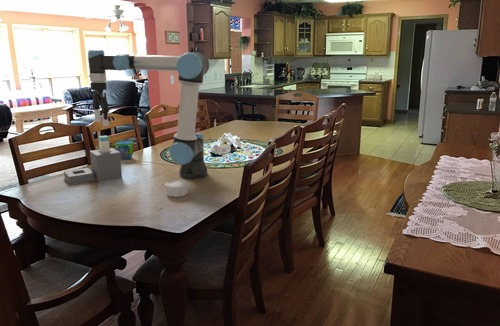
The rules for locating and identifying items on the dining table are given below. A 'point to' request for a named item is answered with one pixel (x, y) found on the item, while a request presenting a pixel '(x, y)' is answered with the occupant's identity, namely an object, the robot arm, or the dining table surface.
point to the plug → (104, 144)
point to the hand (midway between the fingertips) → (101, 123)
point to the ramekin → (176, 188)
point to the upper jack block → (106, 165)
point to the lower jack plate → (79, 175)
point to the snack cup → (125, 149)
